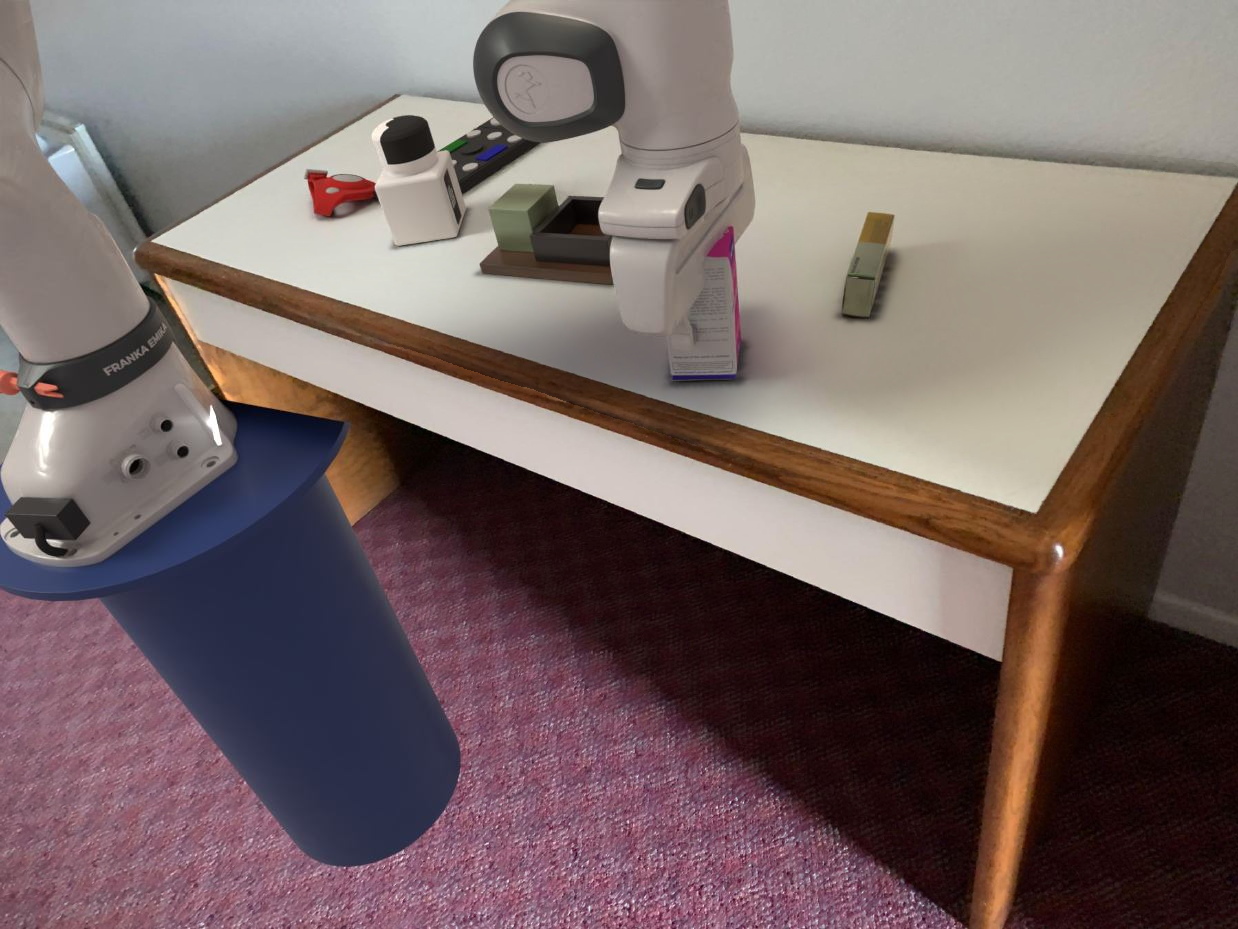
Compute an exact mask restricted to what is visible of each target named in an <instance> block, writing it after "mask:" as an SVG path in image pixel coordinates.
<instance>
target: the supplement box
mask: <svg viewBox="0 0 1238 929" xmlns="http://www.w3.org/2000/svg"><path fill="white" fill-rule="evenodd" d="M736 257H737V256H736V244H735V242H734V228H733V226H729V227H728V228H727V230H726V231H725V232H724V233H723V235H722V236H721V237H720V239H719V240H718V241H717V242H716V244H715V245H714V246H713V248H712V249H711V250H710V252H709V253H708V255H707V256H706V257H705V259H704V268H705V276H706V286H705V288H704V289H703V291H702V292H701V294H700V295H699V296H698V298H697V299H696V301H695V302H694V303H693V305H692V306H691V308H690V315H689V316H688V317H687V318H688V320H689V322H690V324H696V326H697V335H698V340H697V342H696V343H695V345H694V346H693V348H692V350H691V351H690V352H684V351H676V350H675V349H673V347H672V345H671V339H670V336H667V337H666V346H667V354H668V362H669V370H670V380H671V381H672V382H681V381H683V382H685V381H686V382H687V381H720V380H721V381H722V380H724V381H725V380H726V381H727V380H735V379H737V377H738V376H737V375H738V362H739V357H740V356H739V355H740V350H741V346H742V345H741V344H742V334H741V333H742V332H741V319H740V318H741V317H740V304H739V303H740V302H739V301H740V300H739V289H738V288H739V286H738V275H737V274H738V272H737V259H736Z"/></svg>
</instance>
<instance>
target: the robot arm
mask: <svg viewBox="0 0 1238 929" xmlns="http://www.w3.org/2000/svg"><path fill="white" fill-rule="evenodd" d="M731 20H732V19H731V13H730V4H729V0H509V1H508V2H507V3H506V4H505V5H504V6H503V7H502V8H501V9H500V10H498V11H497V12H496V14H494V16H493V17H492V18H491V19H490V20H489V22H488V23H487V24H486V26H485V27H484V28H483V30H482V31H481V33H480V34H479V35H478V38H477V40H476V43H475V46H474V51H473V56H472V57H473V58H472V70H473V77H474V82H475V86H476V90H477V92H478V94H479V96H480V98H481V101H482V103H483V104H484V106H485V108H486V109H487V110H488V112H489V113H490V115H491V116H492V118H493V117H494V118H495V119H496V120H497V121H498V122H499V123H500V124H501V125H502V126H503V127H504V128H506V129H507V130H508V131H510V132H511V133H513V134H515V135H517V136H519V137H521V138H523V139H526V140H529V141H533V142H540V143H539V144H541V143H543V144H544V143H547V144H548V143H555V142H560V141H565V140H568V139H573V138H578V137H582V136H586V135H589V134H593V133H596V132H598V131H601V130H605V129H607V128H609V127H614V128H615V129H616V130H617V133H618V141H619V145H620V154H619V155H618V157H617V160H616V164H615V169H614V172H613V176H612V179H611V181H610V184H609V186H608V188H607V189H606V190H607V191H606V193H605V195H604V196H603V197H604V199H603V201H602V203H601V205H600V208H599V212H598V217H599V224H600V228H601V231H602V232H603V233H604V234H608V235H614V236H613V238H612V241H611V246H610V265H611V272H612V278H613V288H614V292H615V297H616V301H617V306H618V310H619V314H620V318H621V321H622V323H623V325H624V326H625V327H626V328H627V329H628V330H629V331H630V332H632V333H633V334H637V335H643V336H644V335H645V336H652V337H661V338H662V337H663V338H665V337H667V336H670V339H671V345H672V347H673V349H675V350H676V351H684V352H690V351H691V350H692V348H693V346H694V345H695V343H696V342H697V340H698V335H697V326H696V324H690V322H689V320H688V318H687V317H688V316H689V315H690V308H691V306H692V305H693V303H694V302H695V301H696V299H697V298H698V296H699V295H700V294H701V292H702V291H703V289H704V288H705V286H706V276H705V268H704V259H705V257H706V256H707V255H708V253H709V252H710V250H711V249H712V248H713V246H714V245H715V244H716V242H717V241H718V240H719V239H720V237H721V236H722V235H723V233H724V232H725V231H726V230H727V228H728V227H729V226H733V228H734V242H735V245H736V244H737V243H738V242H739V240H740V239H741V237H742V236H743V234H744V233H745V232H746V230H747V229H748V227H749V226H750V225H751V223H752V222H753V220H754V217H755V211H756V194H755V186H754V178H753V170H752V164H751V158H750V155H749V151H748V147H747V146H746V145H745V144H744V143H742V138H741V127H740V125H741V124H740V114H739V109H738V105H737V102H736V99H735V97H734V94H733V91H732V86H731V85H732V84H731V78H732V77H731V76H732V69H733V64H734V55H735V54H734V52H735V51H734V40H733V39H734V38H733V30H732V21H731ZM42 73H43V72H42V66H41V60H40V54H39V46H38V41H37V35H36V29H35V23H34V18H33V13H32V8H31V3H30V0H0V326H1V328H2V330H4V332H5V333H6V335H7V336H8V338H9V339H10V341H11V342H12V343H13V345H14V347H16V349H17V350H18V363H19V368H18V372H13V371H8V370H4V369H0V394H4V395H6V396H15V395H17V394H19V393H21V395H22V396H23V397H24V398H25V400H26V402H27V404H26V406H25V409H24V412H23V414H22V417H21V420H20V422H19V425H18V427H17V430H16V432H15V435H14V436H13V440H12V442H11V443H10V447H9V450H8V451H7V454H6V456H5V459H4V460H3V462H4V463H3V462H2V463H3V465H2V467H1V480H2V484H3V487H4V489H5V492H6V494H7V496H8V498H9V500H10V502H11V504H12V506H11V507H10V508H9V509H8V510H7V512H6V513H5V514H4V515H5V516H6V517H7V518H6V519H5V520H4V521H3V522H2V524H1V525H0V534H1V537H2V539H3V540H4V542H5V543H6V545H7V546H8V548H9V549H10V550H11V551H13V552H14V553H15V554H17V555H18V556H20V557H22V558H24V559H27V560H30V561H32V562H35V563H39V564H43V565H47V566H53V567H81V566H87V565H92V564H96V563H100V562H102V561H104V560H105V559H107V558H108V557H110V556H111V555H113V554H114V553H115V552H117V551H118V550H119V549H121V548H122V547H124V546H125V545H126V544H128V543H129V542H130V541H132V540H133V539H134V538H136V537H137V536H139V535H140V534H141V533H143V532H144V531H145V530H147V529H148V528H149V527H151V526H152V525H154V524H155V523H156V522H158V521H159V520H160V519H162V518H163V517H164V516H166V515H167V514H168V513H170V512H171V511H173V510H174V509H175V508H177V507H178V506H179V505H181V504H182V503H183V502H185V501H186V500H188V499H189V498H190V497H192V496H193V495H194V494H196V493H197V492H198V491H200V490H201V489H202V488H204V487H205V486H207V485H208V484H209V483H211V482H212V481H213V480H215V479H216V478H217V477H219V476H220V475H222V474H223V473H224V472H226V471H227V470H228V469H230V468H231V467H232V466H233V465H234V464H235V463H236V462H237V460H238V454H237V451H236V449H235V447H234V439H235V435H236V432H237V420H236V417H235V415H234V414H233V413H232V412H231V411H230V410H229V409H228V408H227V407H226V406H225V405H224V404H222V403H221V402H220V401H219V400H218V399H219V398H218V399H217V397H216V395H215V394H214V393H213V392H212V391H211V390H210V389H209V388H208V386H207V385H206V384H205V383H204V381H203V380H202V379H201V378H200V376H199V375H198V374H197V373H196V372H195V370H194V368H192V366H191V365H190V364H189V362H188V361H187V359H186V358H185V356H184V355H183V354H182V352H181V351H180V349H179V348H178V342H177V339H176V336H175V334H174V331H173V330H172V328H171V326H170V325H169V323H168V320H166V317H165V316H164V313H163V312H162V311H161V310H160V308H159V306H158V305H157V303H156V301H155V299H153V298H152V297H150V296H148V295H146V294H145V292H144V290H143V288H142V286H141V285H140V283H139V281H138V280H137V277H136V276H135V274H134V273H133V270H132V269H131V267H130V265H129V263H128V261H126V259H125V257H124V255H123V253H122V251H121V249H120V248H119V246H118V245H117V243H116V241H115V239H114V237H113V236H112V234H111V232H110V230H109V229H108V227H107V225H106V224H105V222H104V221H103V220H102V219H101V218H100V217H99V216H98V215H97V214H95V213H93V212H92V211H90V210H89V209H88V208H87V207H86V206H85V205H84V204H83V203H82V201H81V200H80V199H79V198H78V197H77V196H76V195H75V193H74V192H73V191H72V190H71V188H70V187H69V186H68V185H67V184H66V182H65V181H64V180H63V179H62V177H61V176H60V175H59V174H58V172H57V171H56V170H55V169H54V167H53V166H52V165H51V163H50V162H49V160H48V159H47V157H46V156H45V154H44V152H43V151H42V148H41V146H40V144H39V140H38V139H37V135H36V133H37V132H38V129H39V127H40V125H41V123H42V120H43V119H44V115H45V109H46V95H45V88H44V80H43V74H42Z"/></svg>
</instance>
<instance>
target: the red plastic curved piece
mask: <svg viewBox="0 0 1238 929" xmlns="http://www.w3.org/2000/svg"><path fill="white" fill-rule="evenodd" d="M328 174H329V171H328V170H324V169H313V168H311V169H310V168H305V171H304V176H303V179H304V180H307V185H308V190H309V193H310V196H311V198H312V205H313V213H314V214H316V215H321V216H324V217H325V216H326V217H331V215H332V213H333V211H334V209H335V207H336V208H337V207H338V206H340V205H342V204H344V203H346V202H352V201H361V200H362V201H363V200H369V199H373V198H376V197H375V194H374V192H373V190H374V189H375V185H376V183H377V182H374V181H372V180H370V179H367V178H365V177H363V176H360V175H357V174H349V173H339V174H334V175H330V176H328Z"/></svg>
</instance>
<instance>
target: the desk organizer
mask: <svg viewBox="0 0 1238 929" xmlns="http://www.w3.org/2000/svg"><path fill="white" fill-rule="evenodd" d="M604 197H605V196H587V195H568V196H567V197H566V198H565V199H564V200H563V201H562V202H561V203H560V204H559V202H558V197H557V193H556V188H555V185H554V184H541V183H539V184H537V183H514V184H513V185H512V186H511V187H510V188H508V190H506V191H505V192H504V193H502V195H500V197H499V198H497V199H496V200H495V201H494V202H493V203H492V204H491V205H490V206H489V207H488V208H487V210H488V213H489V218H490V221H491V225H492V228H493V231H494V235H495V238H496V242H497V246H496V247H495V248H494V249H493V250H491V252H490V253H488V255H487V256H485V258H484V259H482V260H481V261H480V263H479V267H480V271H481V274H485V275H486V274H487V275H497V276H499V275H500V276H508V277H509V276H510V277H522V278H533V279H542V280H543V279H545V280H556V281H566V282H567V281H568V282H579V283H589V284H591V283H592V284H602V285H614V283H613V278H612V272H611V265H610V246H611V241H612V238H613V236H614V235H608V234H604V233H603V232H602V231H601V228H600V224H599V217H598V212H599V208H600V205H601V203H602V201H603V199H604Z"/></svg>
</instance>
